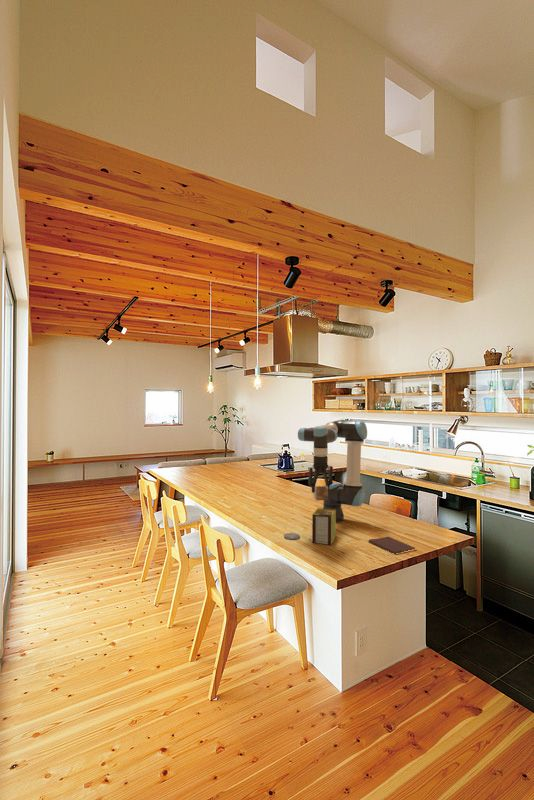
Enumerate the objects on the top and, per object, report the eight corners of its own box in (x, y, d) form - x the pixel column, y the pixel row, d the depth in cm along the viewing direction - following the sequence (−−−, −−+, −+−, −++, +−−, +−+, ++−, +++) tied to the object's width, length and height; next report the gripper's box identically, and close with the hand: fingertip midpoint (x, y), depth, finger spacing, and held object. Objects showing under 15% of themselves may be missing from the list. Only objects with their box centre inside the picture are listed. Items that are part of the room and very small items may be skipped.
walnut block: (323, 497, 217) (323, 486, 217) (327, 499, 212) (327, 488, 211) (313, 497, 216) (313, 486, 216) (317, 500, 210) (317, 489, 210)
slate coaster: (296, 533, 227) (296, 532, 227) (302, 539, 218) (302, 537, 218) (281, 535, 225) (281, 533, 225) (286, 540, 216) (286, 539, 216)
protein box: (335, 536, 224) (336, 509, 224) (331, 545, 209) (331, 516, 209) (317, 534, 227) (317, 507, 227) (311, 543, 213) (312, 514, 213)
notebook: (389, 539, 222) (389, 535, 222) (416, 551, 204) (416, 547, 204) (368, 543, 215) (368, 539, 215) (395, 555, 197) (395, 551, 197)
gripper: (333, 453, 220) (333, 495, 220) (301, 455, 214) (301, 497, 215) (339, 455, 212) (339, 498, 213) (306, 457, 207) (306, 501, 207)
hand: (320, 498), depth 214 cm, fingers closed on walnut block, 6 cm apart
